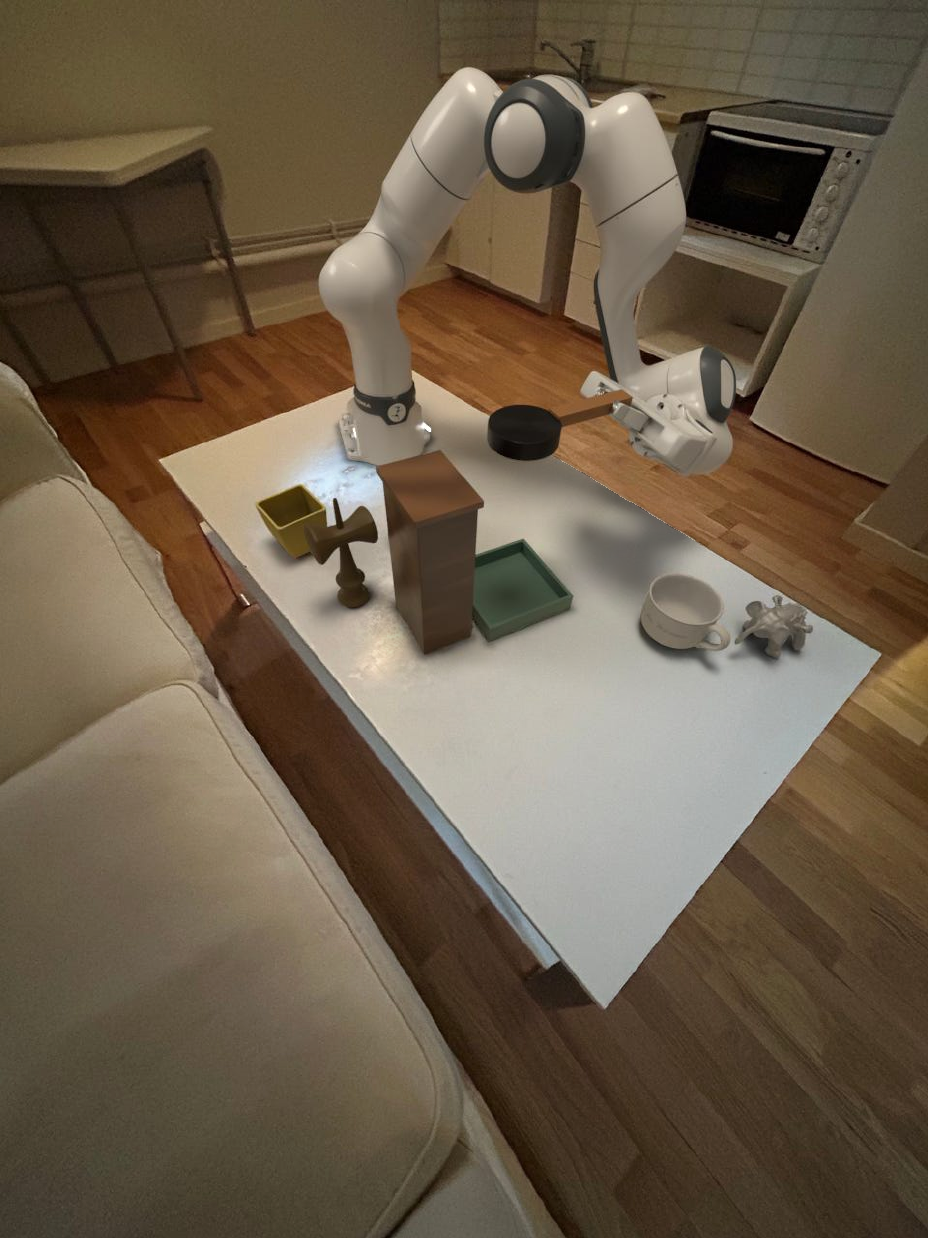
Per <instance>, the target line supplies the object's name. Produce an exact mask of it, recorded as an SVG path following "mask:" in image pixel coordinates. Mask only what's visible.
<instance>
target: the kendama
mask: <svg viewBox="0 0 928 1238" xmlns="http://www.w3.org/2000/svg"><path fill="white" fill-rule="evenodd" d="M332 506H333V507H332V508H333V513H334V519H335V524H333V525H328V526H327V527H324V526H318V525H314V524H309V523H305V524H304V528H303V530H304V535H305V538H306V541H307V544H308V546H309V549H310V553H311V554H312V556H313V558H314V560H315V561H316V562H317V564H319V565H320V566H323V565H325V564H326V563H327V561H328V560H329V559H330V557H331V556H332V555H333V553H334V552H336V550H337V549H339V571H338V573H337V574H336V575H335V582H336V584H337V586H339V589H338V591H337V596H336V597H337V600H338V602H339V603H340V604H341V605H342V606H344V607H346V608H356V607H359V606H362V605H364V604H365V603H367V602H368V601H369V599H370V595H371V592H370V590H369V588H368V587H367V586H366V585H365V584H364V582H365V581H366V575H365V572H364V571H363V570H362V569H361V568H359V567H358V566H357V565H356V562H355V559H354V556H353V553H352V550H351V547H350V545H349V544H351V543H357V542H361V543H369V544H376V543H377V542H378V540H379V531H378V527H377V524H376V521H375V519H374V517H373V515H372V513H371V512H370V510H369V509H368V508H367V507H366V506H364V505H359V506H358V507H357V508H356V509H355V510H354V511H353V512H352V513H351V515H349V517H348V518H346V519H345V520H343V517H342V512H341V508H340V505H339V501H338V499H337V497H334V498H333V499H332Z"/></svg>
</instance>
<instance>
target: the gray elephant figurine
mask: <svg viewBox="0 0 928 1238" xmlns="http://www.w3.org/2000/svg"><path fill="white" fill-rule="evenodd" d="M771 599H772V602H773V603H774V606H773V607H768V606H767V605H766V604H765V603H764V602H763V601H760V600H754V601H751V602H749V603H748V604H747V605H746V606H745V611H746V613H747V615H748V616H749V617H750V618H751V619H748V620H745V621H744V622H743V628H744V631H743V632H741V633H740V634H739V635H738V636H737V637H736V638H735V639H734V641H733V643H734V645H740V644H741V643H742V642H743V641H744V639H745V638H747V637H748V636H749V635H750V634H752V633H753V635H754V636H755V637H757V638H760V639H766V638H767V639H768V646H766V648H765V649H764V652H765V653H766V655H767V656H770V657H772V658H775V659H778V658H780V657H781V655H782V646H783V644H785V642H786V641H787V639H788V637H789V636H791V635H792V643H791V645H792V646H791V647H792V648H793V649H794V650H795V651H799V650H801V649H802V648H804V647H805V644H806V639H807V637H806V636H807V635H809V634H812V633H813V631H814V626H813V625H812V624H809V625H807V623H806V621H805V620H806V618H807V617H806V616H807V615H808V611H807V608H806V607H804V606H802V605H801V604H800V603H799V602H796V603H791V602H788V603H785V604H783V603H782V602H783V599H784V597H783V596H782V595H780V594H776V595H773V596H772V597H771Z"/></svg>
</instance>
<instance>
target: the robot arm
mask: <svg viewBox="0 0 928 1238" xmlns="http://www.w3.org/2000/svg"><path fill="white" fill-rule="evenodd" d="M490 173H491V174H492V176H493V177H494V178H495V180H496V181H497V182H498V183H499V185H501V186H503V187H504V188H505V189H507V190H509V191H511V192H514V193H518V194H523V195H524V194H527V195H528V194H535V193H539V192H540V193H541V192H542V191H546V190H548V189H552V188H556V187H559V186H564V185H568V184H569V183H570V182H571V183H572V184H575V185H576V186H577V187H578V188H579V190H580V191H581V192H582V194H583V196H584V199H585V200H586V203H587V205H588V208H589V211H590V213H591V216H592V217H591V218H592V219H593V223H594V226H595V228H596V232H597V236H598V241H599V249H600V262H599V268H598V270H597V272H596V273H595V275H594V277H593V298H594V304H595V310H596V316H597V321H598V327H599V331H600V336H601V341H602V346H603V351H604V355H605V359H606V364H607V369H608V374H609V377H608V376H606V375H604V374H602V373H601V372H599V371H597V370H592V371H591V372H590V373H589V374H588V376H587V377H586V379H585V380H584V382H583V384H582V386H581V388H580V390H579V393H580V394H581V396H583V398H584V399H586V398H590V397H593V396H597V395H601V394H605V393H609V392H613V391H616V390H620V389H622V390H624V391H625V392H626V393H628V394H629V395H631V396H632V397H633V399H632V403H631V407H629V406H627V405H625V404H624V403H622V402H620V401H618V400H615V401H614V402H613V404H612V406H611V407H610V408H609V413H610V414H608V415H607V416H608V417H610V418H611V419H613V420H614V421H615V422H616V423H617V424H619V425H620V426H622V427H623V428H624V429H626V430H627V431H628V439H629V443H630V446H631V447H632V449H633V450H634V452H635V453H636V454H637V455H640V456H642V457H644V458H646V459H649V460H651V461H653V462H655V463H658V464H662V465H663V466H666V467H667V468H669V469H670V470H671V471H673V472H674V473H676V474H678V475H680V476H681V477H685V478H689V477H690V476H691V475H696V476H697V475H698V476H699V475H707V474H709V473H712V472H714V471H716V470H718V469H720V467H722V466H723V465H724V464H725V463H726V462H727V460H729V458H730V456H731V455H732V452H733V447H734V440H733V435H732V433H731V431H730V428H729V426H728V423H727V420H728V418H729V416H730V414H731V411H732V409H733V408H734V403H735V401H736V400H735V399H736V394H737V378H736V377H737V376H736V372H735V369H734V366H733V364H732V363H731V361H730V360H729V358H728V357H726V355H725V354H724V353H723V352H722V351H721V350H719V349H718V348H716V347H714V346H711V345H705V346H703V347H700V348H696V349H693V350H689V351H687V352H684V353H682V354H678V355H676V356H674V357H671V358H669V359H665V360H662V361H659V362H656V363H653V364H650V365H649V364H645V363H644V362H643V360H642V358H641V353H640V352H641V351H640V347H639V340H638V336H637V328H636V324H635V319H634V317H635V316H634V308H635V303H636V300H637V298H638V296H639V294H640V292H641V291H642V290H643V289H644V288H645V286H646V285H647V284H648V283H649V282H650V281H651V280H652V279H653V278H654V277H655V276H656V275H657V273H659V271H661V270H662V268H664V266H665V265H666V264H667V263H668V262H669V260H670V259H671V257H672V256H673V255H674V254H675V252H676V250H677V248H678V246H679V244H680V242H681V241H682V238H683V235H684V233H685V232H684V231H685V227H686V224H687V209H686V202H685V198H684V197H685V196H684V193H683V188H682V184H681V181H680V177H679V175H678V170H677V166H676V163H675V159H674V157H673V154H672V151H671V148H670V145H669V143H668V140H667V138H666V135H665V132H664V130H663V127H662V126H661V123H660V121H659V119H658V117H657V115H656V112H655V110H654V108H653V107H652V105H651V102H649V100H648V99H647V98H646V97H645V95H643V94H642V93H639V92H635V91H627V92H626V91H625V92H622V93H619V94H616V95H613V96H612V97H610V98H607V99H606V100H605V101H604V102H602V103H601V104H599V105H597V106H594V107H593V103H592V100H591V98H590V96H589V94H588V92H587V91H586V90H585V88H584V87H583V86H582V84H581V83H579V82H577V80H575V79H573V78H572V77H571V78H570V77H567V76H560V75H555V74H542V75H537V76H535V77H532V78H524V79H520V80H518V81H516V82H514V83H512V84H511V85H510V86H508V87H507V88H506V89H504V91H503V90H502V89H501V88H500V87H499V86H498V84H497V83H496V81H495V80H494V79H493V78H492V77H490V76H489V75H488V73H486V72H485V71H482V70H481V69H479V68H475V67H470V66H469V67H468V66H466V67H462V68H460V69H459V70H457V71H455V72H454V73H453V75H451V77H450V78H449V79H448V80H447V81H446V82H445V83H444V84H443V85H442V87H441V88H440V89H439V90H438V92H437V93H436V94H435V96H434V97H433V98H432V100H431V101H430V103H429V104H428V105H427V106H426V108H425V110H424V111H423V112H422V114H421V115H420V117H419V119H418V120H417V122H416V124H415V125H414V127H413V128H412V130H411V132H410V134H409V136H408V137H407V139H406V141H405V142H404V143H403V146H402V148H401V149H400V151H399V153H398V155H397V156H396V158H395V160H394V162H393V164H392V165H391V167H390V169H389V170H388V172H387V173H386V176H385V178H384V179H383V181H382V183H381V186H380V196H379V198H378V201H377V203H376V206H375V209H374V210H373V213H372V215H371V218H370V219H369V220H368V222H367V223H366V225H365V226H364V228H362V229H361V230H360V231H359V232H358V234H356V235H354V236H353V237H352V238H351V239H349V240H347V241H346V242H345V243H343V244H341V245H340V246H338V247H336V249H334V250H333V251H332V253H331V254H330V256H329V257H328V259H327V260H326V262H325V263H324V265H323V266H322V268H321V270H320V272H319V276H318V292H319V296H320V299H321V301H322V303H323V305H324V307H325V309H326V310H327V312H328V313H329V314H330V315H331V316H332V317H333V318H334V319H335V320H336V321H338V322H340V325H341V326H342V329H343V331H344V333H345V336H346V339H347V341H348V345H349V349H350V355H351V361H352V368H353V376H354V385H353V392H352V393H353V396H352V398H351V399H349V400H348V401H347V403H346V411H347V413H342V414H341V419H340V420H339V422H338V425H339V431H340V434H341V436H342V441H343V445H344V449H345V452H346V453H345V454H346V457H347V459H348V460H350V461H355V462H364V463H368V464H370V465H373V466H381V465H384V464H388V463H392V462H396V461H399V460H403V459H407V458H411V457H414V456H418V455H422V453H423V451H424V448H425V446H426V445H427V444H428V443H429V442H430V441H431V434H430V432H432V428H431V427H430V426H428V425H427V424H426V423H425V422H424V415H423V407H422V405H421V404H420V403H419V402H417V399H416V395H417V392H416V390H417V389H416V387H415V386H416V385H415V381H414V379H413V372H412V371H413V367H412V346H411V342H410V339H409V337H408V336H407V335H406V334H405V333H404V332H403V330H402V327H401V323H400V320H399V316H398V315H399V314H398V304H399V300H400V299H401V297H402V296H404V295H405V294H406V293H407V292H408V291H409V290H411V288H412V287H413V285H414V284H415V282H416V281H417V279H418V278H419V276H420V275H421V273H422V272H423V271H424V268H425V267H426V265H427V264H428V262H429V261H430V259H431V257H432V256H433V254H434V252H435V251H436V249H437V247H438V245H439V244H440V243H441V240H443V237H444V236H445V235H446V233H447V232H448V231H449V229H450V228H451V227H452V226H453V224H454V222H455V221H456V220H457V218H458V216H460V214H461V212H462V211H463V209H464V208H465V207H466V205H467V204H468V203H469V201H470V200H471V199H472V197H473V196H474V194H475V193H476V191H477V189H478V188H479V187H480V186H481V184H482V183H483V181H484V180H485V179H486V178H487V176H488V175H489V174H490Z"/></svg>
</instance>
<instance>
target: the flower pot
mask: <svg viewBox="0 0 928 1238" xmlns="http://www.w3.org/2000/svg"><path fill="white" fill-rule="evenodd" d="M254 506H255V507H256V509H257V511H258V514H259V515H260V517H261V519H262V522H263V523H264V525H265V527H266V529H268V531H269V532H270V534H271V535H272V536H273V537H274V538H275V539H276V540H277V541H278V543H279V544H280V545H281V546H282V547H283V549H285V550H286V552H287V553H288V554H289V555H290V556H291V557H293V558H295V559H298V558H300V557H302V556H304V555H306V554H308V553H311V551H310V549H309V546H308V544H307V541H306V538H305V535H304V530H303V528H304V524H305V523H309V524H314V525H318V526H324V527H328V518H327V507H326V506H325V505H324V503H322V502H321V501H320V500H319V499H318V498H317V497H316V496H315V495H314V494H313V493H312V492H311V491H310V490H309V489H308V487H306V486H305V485H303V484H302V483H299V484H296V485H294V486H291V487H288V488H286V489H284V490H282V491H280V492H278V493H275V494H272V495H270V496H268V497H264V498H262V499H260V500H258V501H256V502H254Z"/></svg>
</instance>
